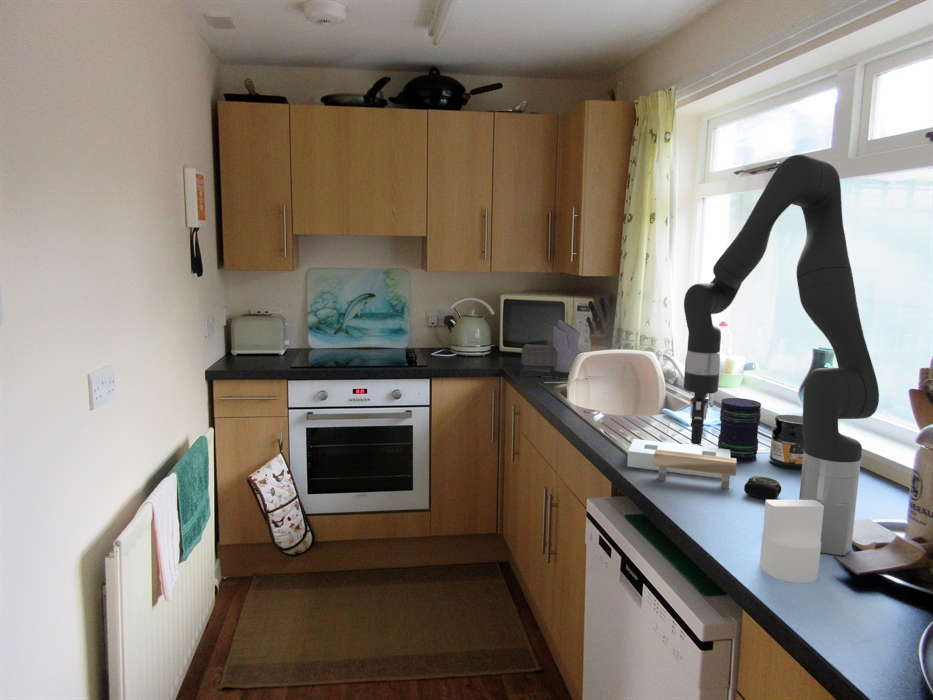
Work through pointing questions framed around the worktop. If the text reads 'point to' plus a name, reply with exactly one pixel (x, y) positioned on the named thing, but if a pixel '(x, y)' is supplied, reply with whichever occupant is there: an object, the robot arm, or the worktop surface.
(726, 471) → the miniature wooden bench
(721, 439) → the storage jar
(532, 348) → the juicer
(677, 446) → the slot board
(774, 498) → the tape measure
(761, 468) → the worktop surface
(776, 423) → the supplement container
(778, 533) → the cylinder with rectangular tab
